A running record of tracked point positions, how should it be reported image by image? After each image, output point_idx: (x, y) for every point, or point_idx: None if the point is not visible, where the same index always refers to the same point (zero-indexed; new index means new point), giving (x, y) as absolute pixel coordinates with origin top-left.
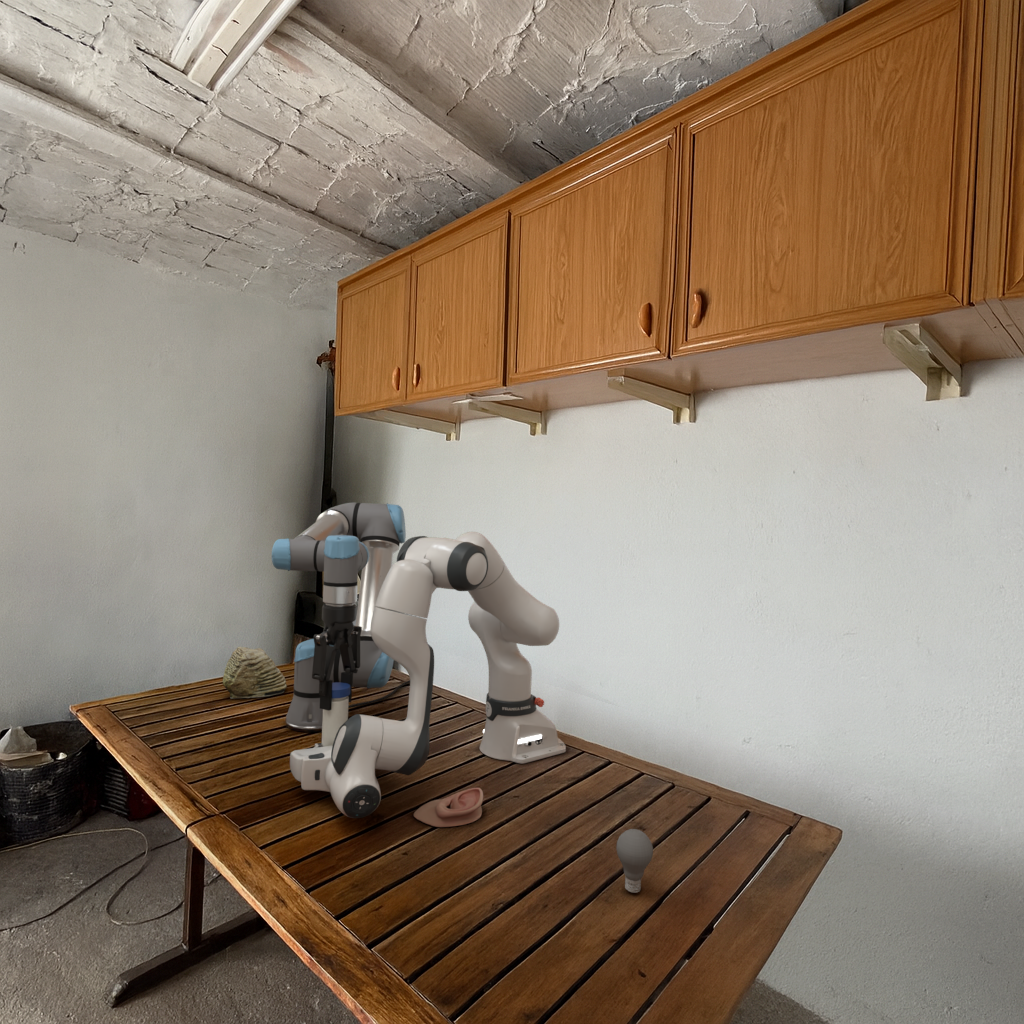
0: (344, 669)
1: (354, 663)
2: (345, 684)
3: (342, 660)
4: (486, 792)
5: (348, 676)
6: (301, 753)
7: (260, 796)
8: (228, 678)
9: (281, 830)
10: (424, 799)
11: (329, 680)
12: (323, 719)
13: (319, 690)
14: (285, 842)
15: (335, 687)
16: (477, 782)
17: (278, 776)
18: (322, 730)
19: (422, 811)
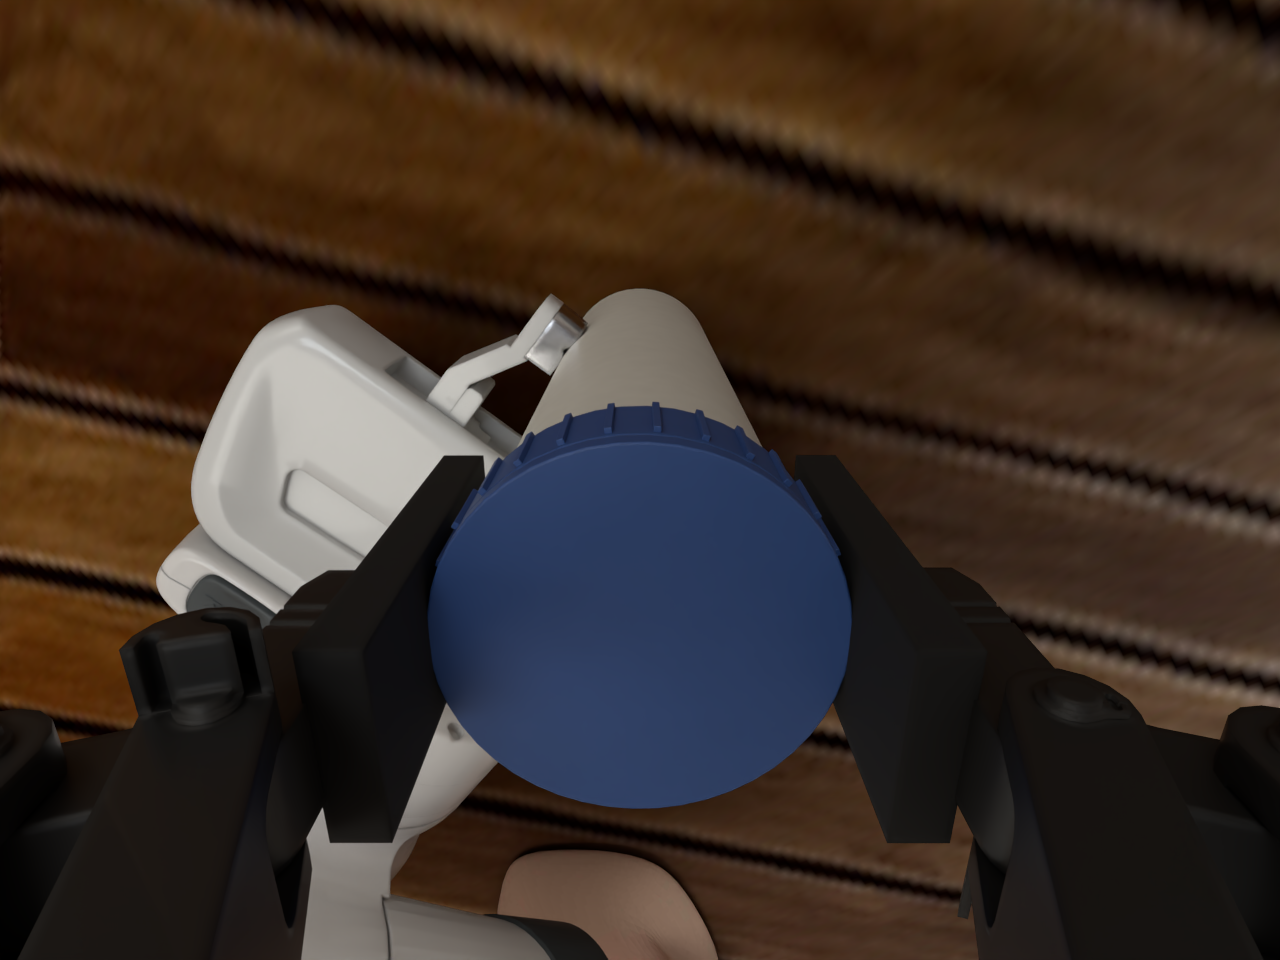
0: (1005, 720)
1: (1255, 917)
2: (786, 689)
3: (1049, 924)
4: (827, 950)
5: (879, 777)
6: (289, 418)
7: (228, 203)
8: None
9: (117, 536)
10: (659, 818)
11: (361, 805)
12: (529, 422)
13: (281, 618)
14: (80, 610)
15: (578, 672)
16: (893, 898)
17: (451, 83)
18: (551, 380)
19: (527, 899)
